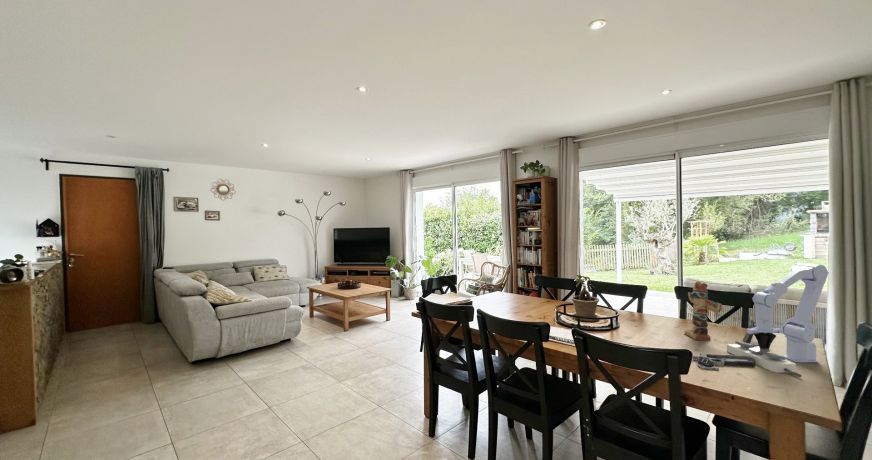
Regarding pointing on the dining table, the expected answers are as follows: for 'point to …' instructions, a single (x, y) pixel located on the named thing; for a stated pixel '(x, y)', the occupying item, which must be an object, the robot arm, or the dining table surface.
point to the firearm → (722, 361)
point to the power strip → (764, 360)
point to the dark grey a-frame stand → (750, 335)
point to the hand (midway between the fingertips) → (764, 349)
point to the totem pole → (701, 311)
